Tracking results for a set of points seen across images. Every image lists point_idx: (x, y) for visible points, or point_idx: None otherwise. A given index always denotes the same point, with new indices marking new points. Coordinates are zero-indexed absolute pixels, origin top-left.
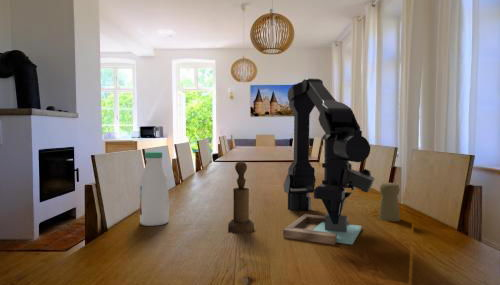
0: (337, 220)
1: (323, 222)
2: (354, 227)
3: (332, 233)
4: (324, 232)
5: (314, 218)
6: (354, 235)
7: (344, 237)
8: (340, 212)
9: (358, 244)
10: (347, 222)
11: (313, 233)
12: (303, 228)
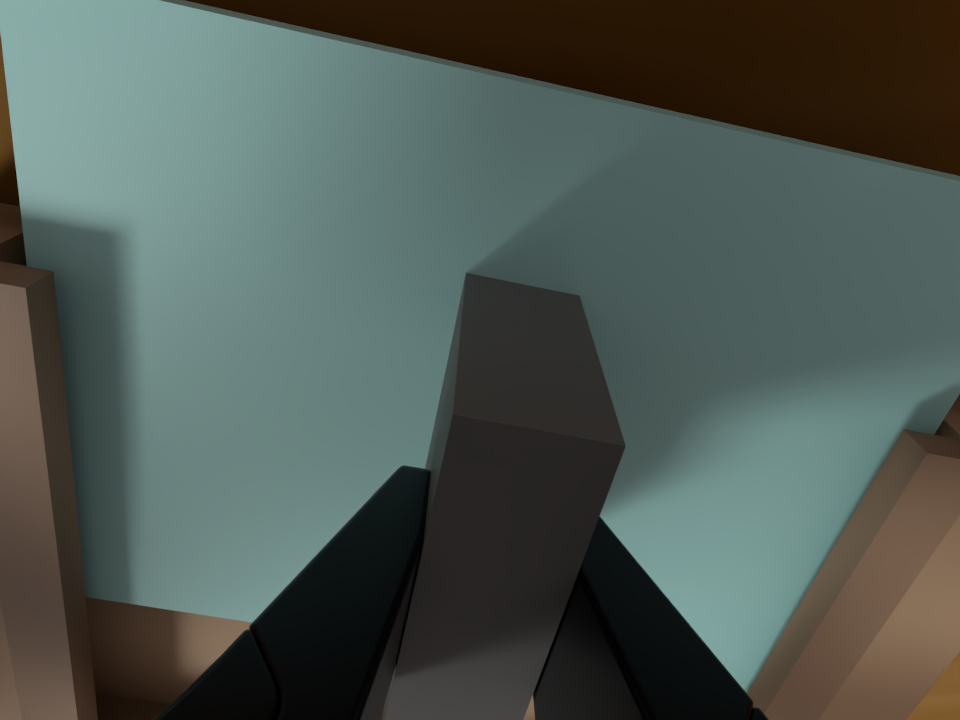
0: (621, 543)
1: (125, 582)
2: (197, 129)
3: (916, 511)
4: (866, 600)
5: (85, 703)
6: (744, 153)
7: (870, 318)
8: (404, 595)
9: (794, 68)
10: (15, 267)
11: (908, 698)
12: (381, 715)
